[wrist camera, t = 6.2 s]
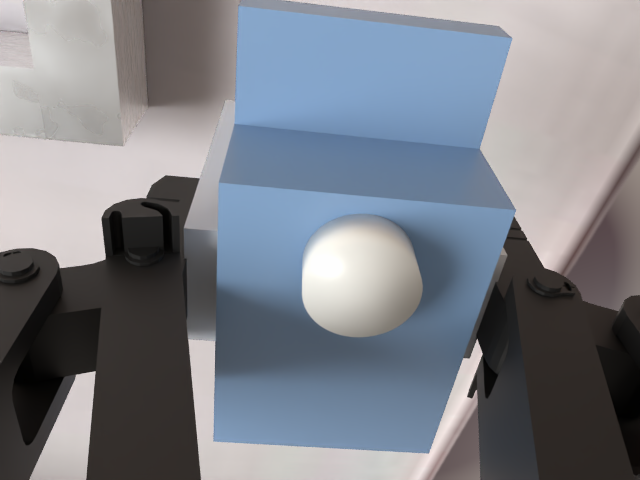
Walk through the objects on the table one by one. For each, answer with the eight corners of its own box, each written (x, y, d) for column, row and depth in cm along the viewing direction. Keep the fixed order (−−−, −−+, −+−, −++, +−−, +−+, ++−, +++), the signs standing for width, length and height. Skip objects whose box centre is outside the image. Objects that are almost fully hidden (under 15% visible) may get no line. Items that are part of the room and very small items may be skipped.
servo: (374, 288, 20) (415, 542, 12) (244, 278, 19) (207, 532, 12) (442, -24, 14) (586, 103, 7) (262, -46, 14) (212, 62, 7)
